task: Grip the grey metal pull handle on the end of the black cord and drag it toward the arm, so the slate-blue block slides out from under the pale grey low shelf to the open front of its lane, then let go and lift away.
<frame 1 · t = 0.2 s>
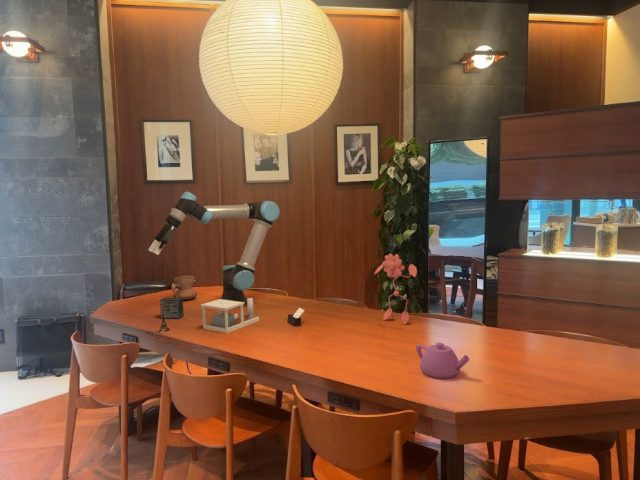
hand: (152, 252, 241), 36 cm above the table, tool tilted 35°, fingers open, 13 cm apart
ceramic jug: (184, 299, 292), on the table
pink flower figurine: (392, 323, 229), on the table
small box: (172, 317, 249), on the table
teapot: (441, 373, 166), on the table
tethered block: (235, 313, 231), point 6 cm above the table, slide at 0.0 cm
eiffel tower figurine: (163, 333, 222), on the table
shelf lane: (232, 326, 229), on the table
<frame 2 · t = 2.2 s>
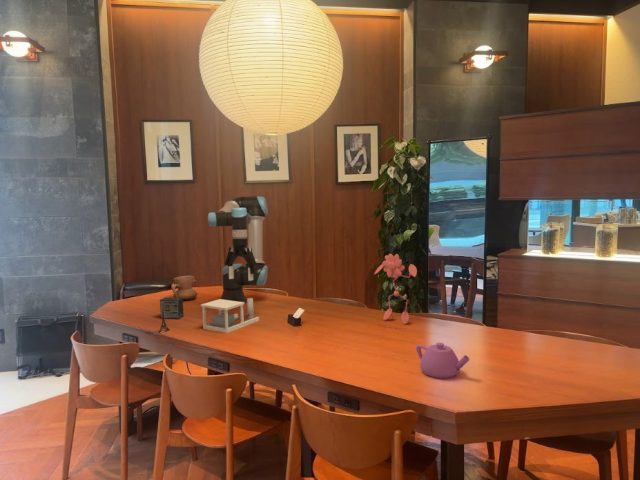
hand: (240, 279, 237), 22 cm above the table, tool pointing down, fingers open, 13 cm apart
nothing on the table moved.
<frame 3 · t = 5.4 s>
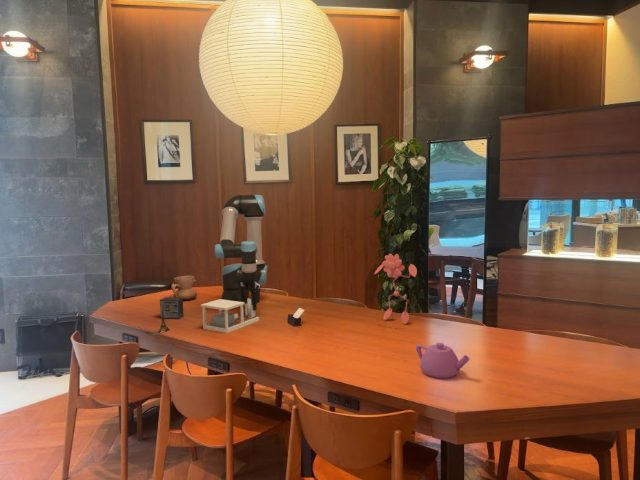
hand: (250, 315, 241), 2 cm above the table, tool pointing down, fingers closed on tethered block, 3 cm apart
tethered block: (235, 313, 231), point 6 cm above the table, slide at 0.0 cm, touching gripper
everything else where it was.
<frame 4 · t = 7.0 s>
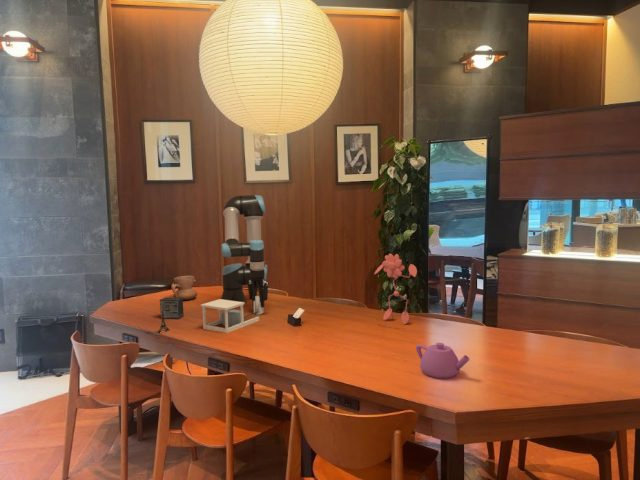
hand: (258, 312, 247), 2 cm above the table, tool pointing down, fingers closed on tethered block, 3 cm apart
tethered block: (244, 310, 236), point 6 cm above the table, slide at 6.7 cm, touching gripper
everything else where it was.
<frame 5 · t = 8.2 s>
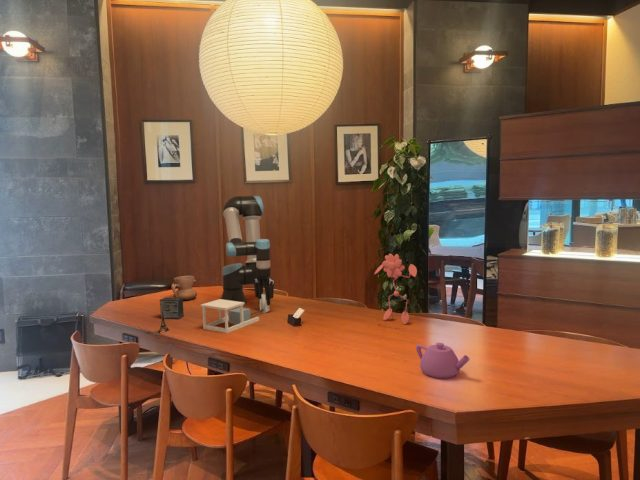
hand: (264, 310, 251), 2 cm above the table, tool pointing down, fingers closed on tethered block, 3 cm apart
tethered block: (250, 307, 241), point 6 cm above the table, slide at 12.0 cm, touching gripper
everything else where it was.
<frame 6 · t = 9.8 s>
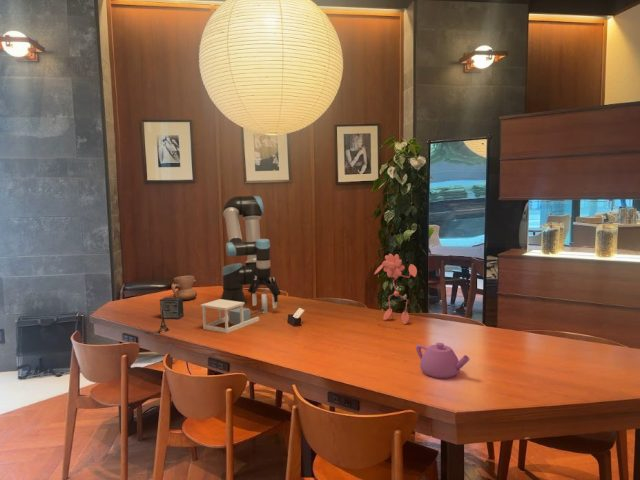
hand: (264, 306, 251), 4 cm above the table, tool pointing down, fingers open, 13 cm apart
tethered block: (251, 307, 241), point 6 cm above the table, slide at 12.0 cm
everything else where it was.
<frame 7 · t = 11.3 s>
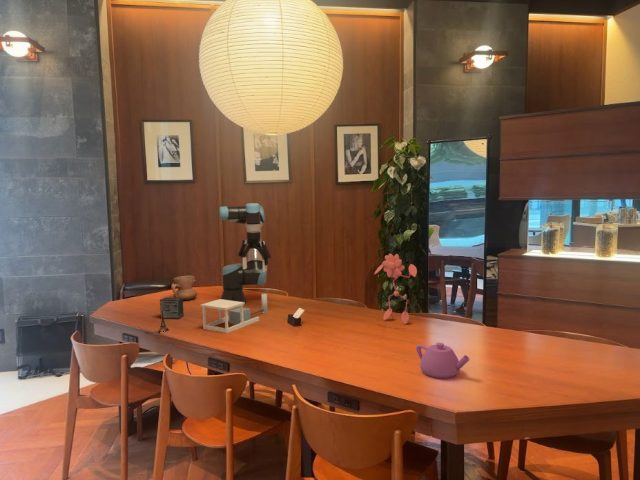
hand: (254, 269, 256), 23 cm above the table, tool pointing down, fingers open, 13 cm apart
nothing on the table moved.
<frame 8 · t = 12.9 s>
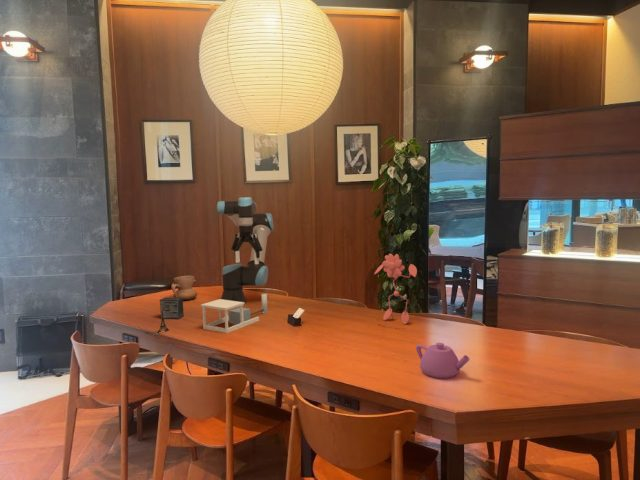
hand: (247, 263, 259), 27 cm above the table, tool pointing down, fingers open, 13 cm apart
nothing on the table moved.
at the end: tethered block slide at 12.0 cm; the gripper is holding nothing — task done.
